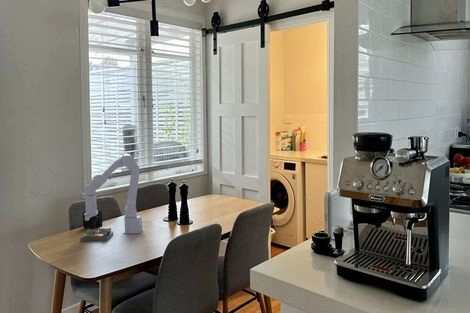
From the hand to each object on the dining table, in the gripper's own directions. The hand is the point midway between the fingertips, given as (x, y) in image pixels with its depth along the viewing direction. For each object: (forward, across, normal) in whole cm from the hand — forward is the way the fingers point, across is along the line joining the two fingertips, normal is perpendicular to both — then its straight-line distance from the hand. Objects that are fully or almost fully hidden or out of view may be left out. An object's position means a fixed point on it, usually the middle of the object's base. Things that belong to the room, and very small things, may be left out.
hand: (92, 229), depth 224 cm
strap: (+1, +9, +5) cm, 10 cm away
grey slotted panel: (+3, +6, +4) cm, 8 cm away
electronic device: (+3, -15, -5) cm, 16 cm away
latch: (+1, +5, 0) cm, 5 cm away
